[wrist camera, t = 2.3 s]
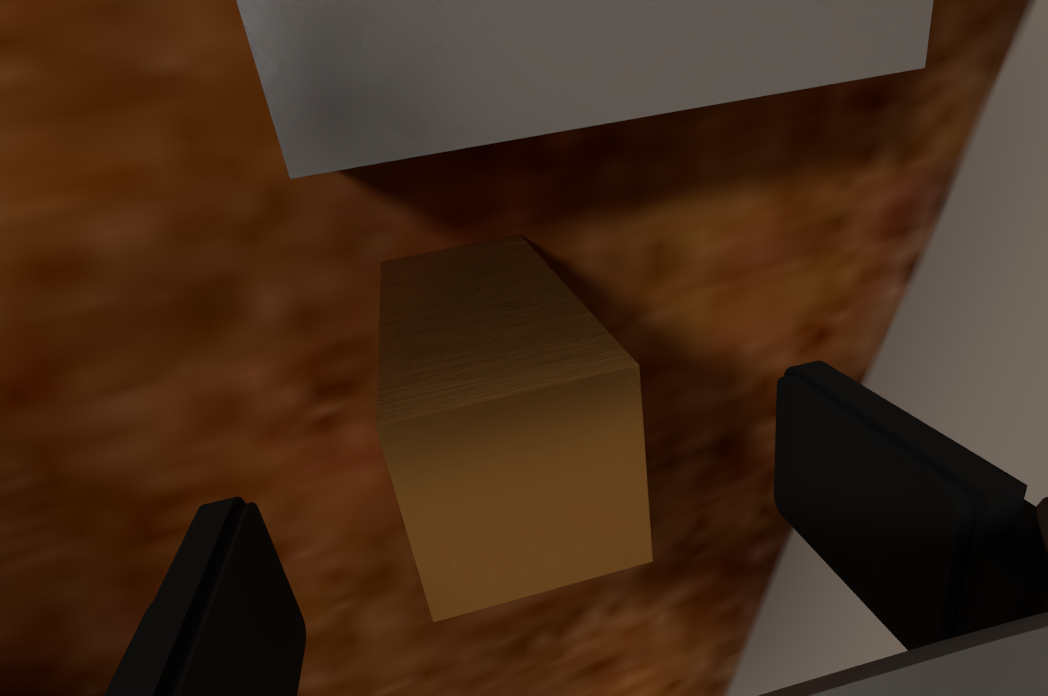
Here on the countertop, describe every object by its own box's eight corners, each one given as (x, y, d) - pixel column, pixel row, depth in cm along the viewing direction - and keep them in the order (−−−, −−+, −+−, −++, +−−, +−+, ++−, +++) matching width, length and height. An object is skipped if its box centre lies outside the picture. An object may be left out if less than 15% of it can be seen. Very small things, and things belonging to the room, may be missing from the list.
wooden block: (380, 262, 17) (376, 426, 9) (520, 234, 17) (639, 365, 9) (412, 386, 18) (433, 622, 10) (538, 358, 19) (652, 561, 11)
